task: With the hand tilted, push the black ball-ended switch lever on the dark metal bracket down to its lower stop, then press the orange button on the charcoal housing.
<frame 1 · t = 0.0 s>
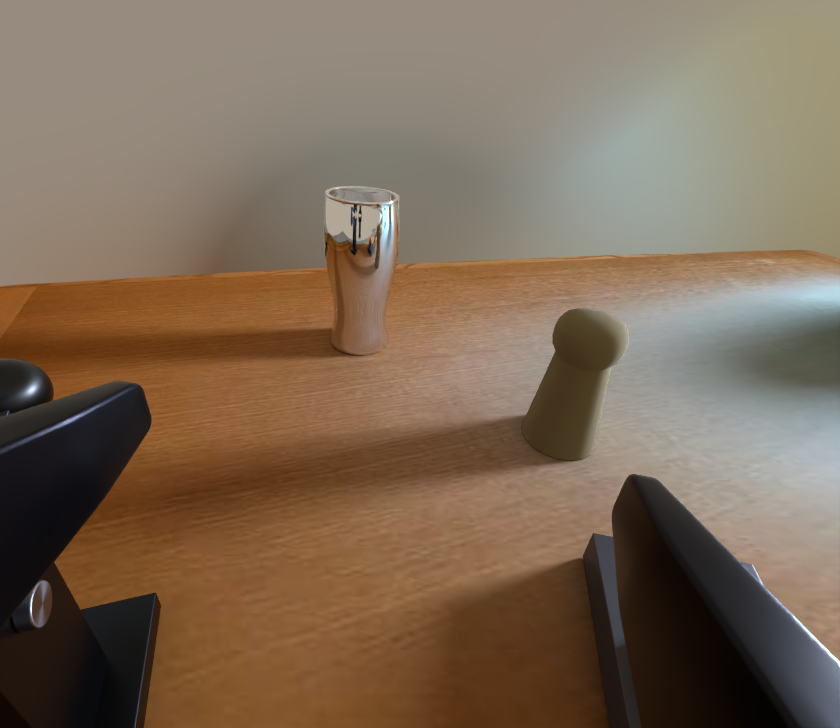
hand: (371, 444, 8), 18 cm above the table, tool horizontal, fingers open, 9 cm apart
beer glass: (359, 342, 48), on the table
olive game pawn: (557, 436, 38), on the table
button box: (687, 668, 23), on the table
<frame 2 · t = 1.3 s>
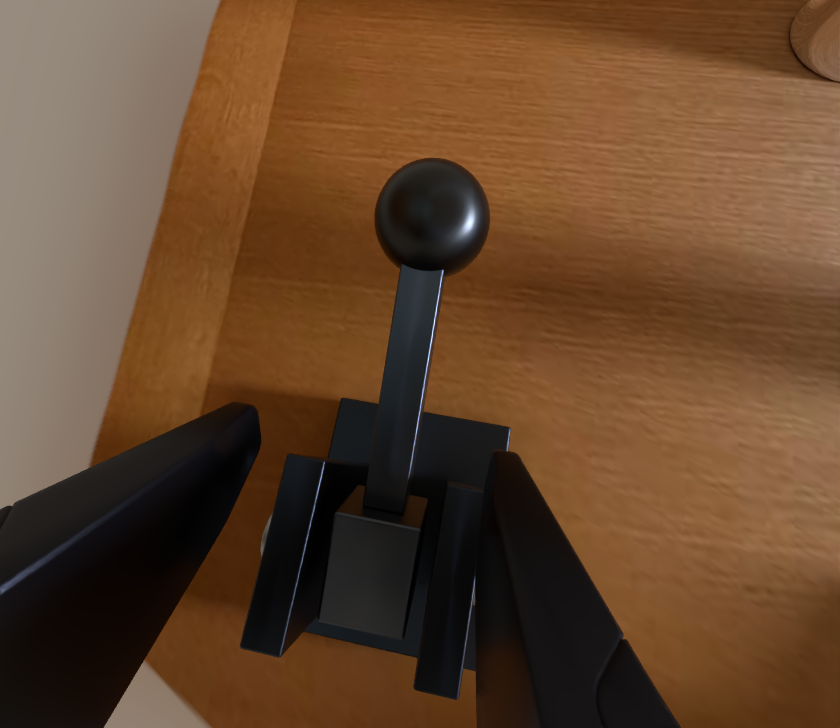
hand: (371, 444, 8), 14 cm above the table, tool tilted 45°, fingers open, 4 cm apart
switch bracket: (406, 521, 21), on the table
switch: (404, 388, 12), point 10 cm above the table, hinge at 15.0°
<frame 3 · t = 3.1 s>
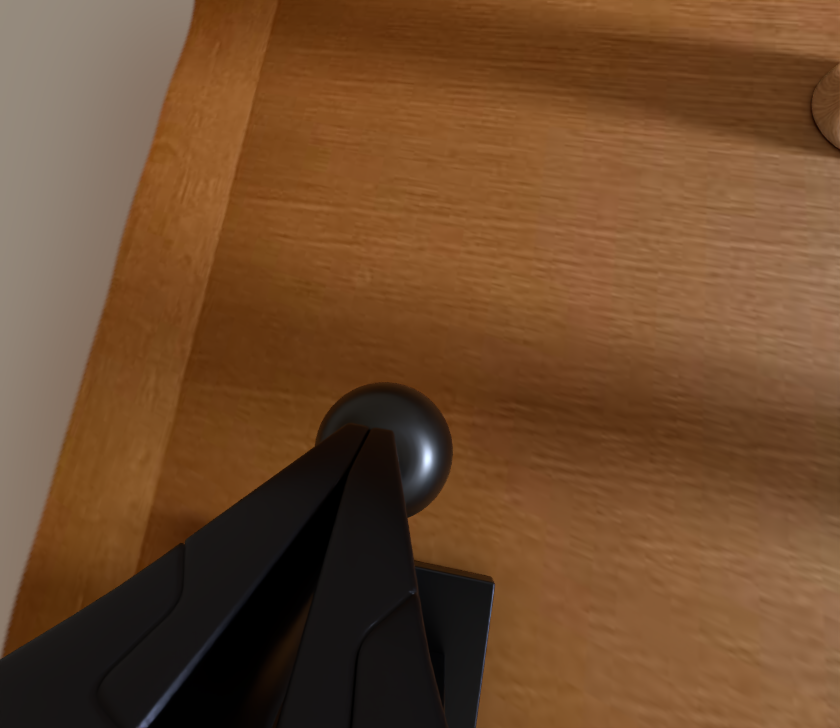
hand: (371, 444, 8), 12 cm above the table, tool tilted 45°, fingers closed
switch bracket: (373, 689, 18), on the table
switch: (346, 659, 10), point 10 cm above the table, hinge at 8.6°
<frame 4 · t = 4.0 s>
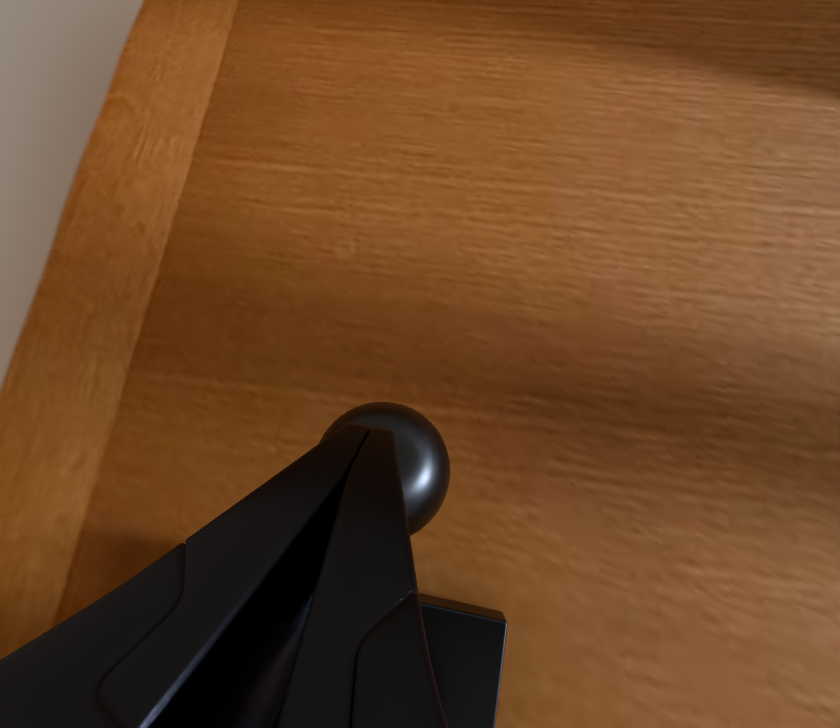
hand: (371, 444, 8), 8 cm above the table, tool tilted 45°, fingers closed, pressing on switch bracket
switch: (321, 720, 8), point 8 cm above the table, hinge at -16.2°
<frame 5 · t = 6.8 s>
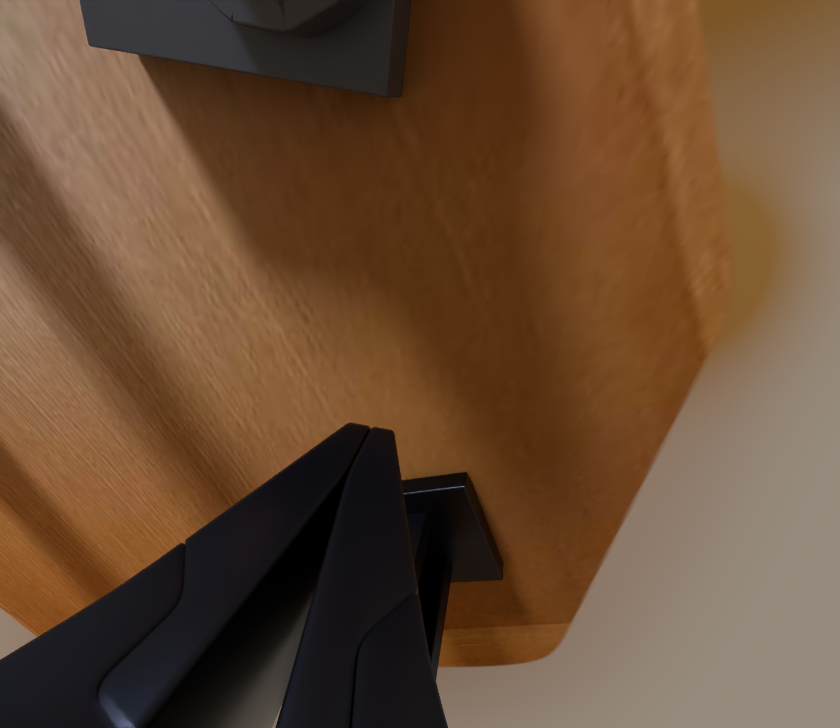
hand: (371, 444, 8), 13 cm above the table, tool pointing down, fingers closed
switch bracket: (411, 527, 29), on the table
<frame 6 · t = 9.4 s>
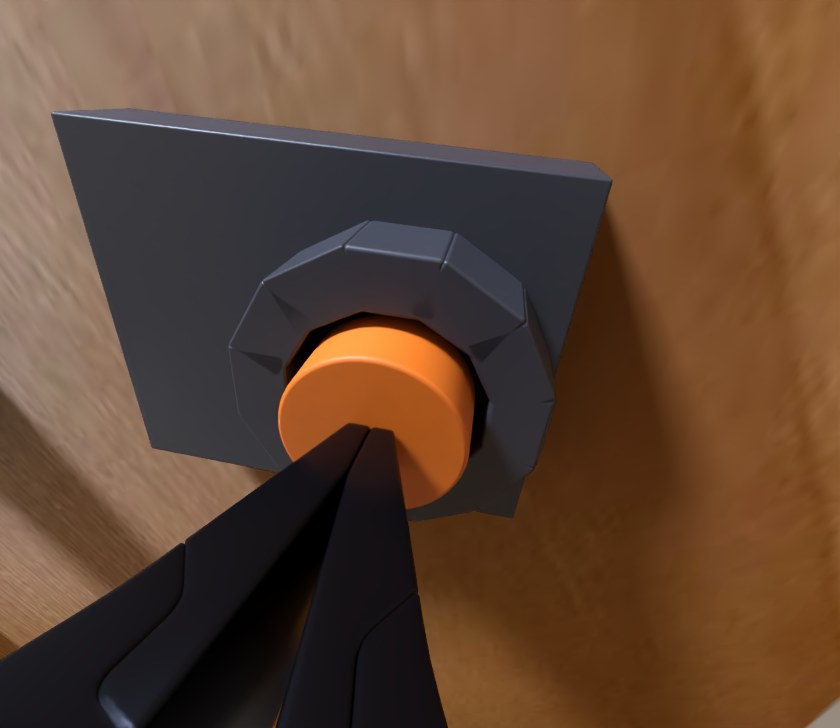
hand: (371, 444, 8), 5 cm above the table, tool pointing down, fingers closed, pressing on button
button: (381, 414, 9), point 4 cm above the table, slide at -0.2 cm, touching gripper
button box: (348, 312, 13), on the table
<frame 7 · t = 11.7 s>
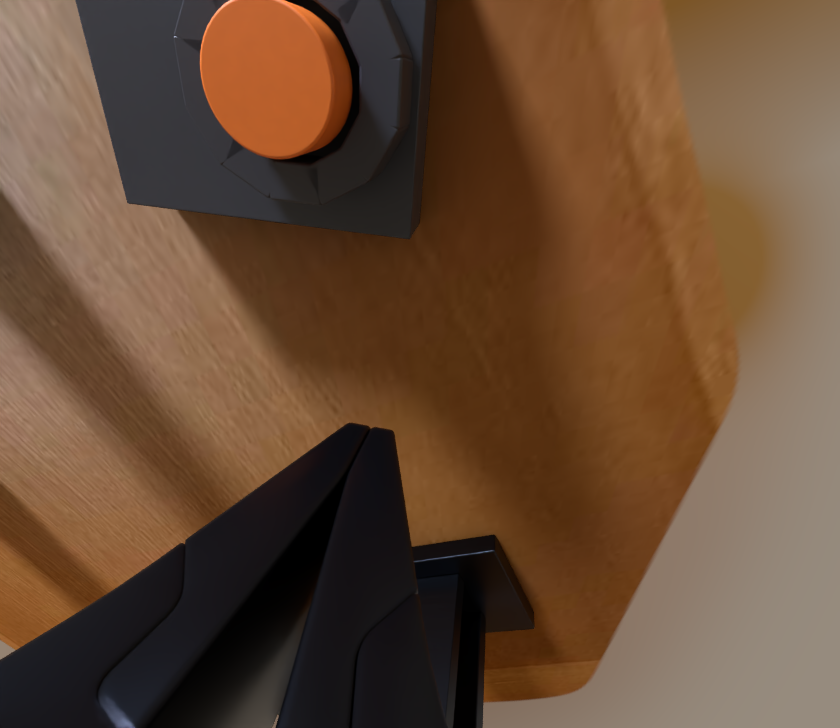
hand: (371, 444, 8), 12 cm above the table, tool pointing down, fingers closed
switch bracket: (443, 583, 30), on the table
switch: (355, 720, 25), point 8 cm above the table, hinge at -16.2°
button: (280, 83, 12), point 4 cm above the table, slide at 0.1 cm
button box: (278, 79, 16), on the table
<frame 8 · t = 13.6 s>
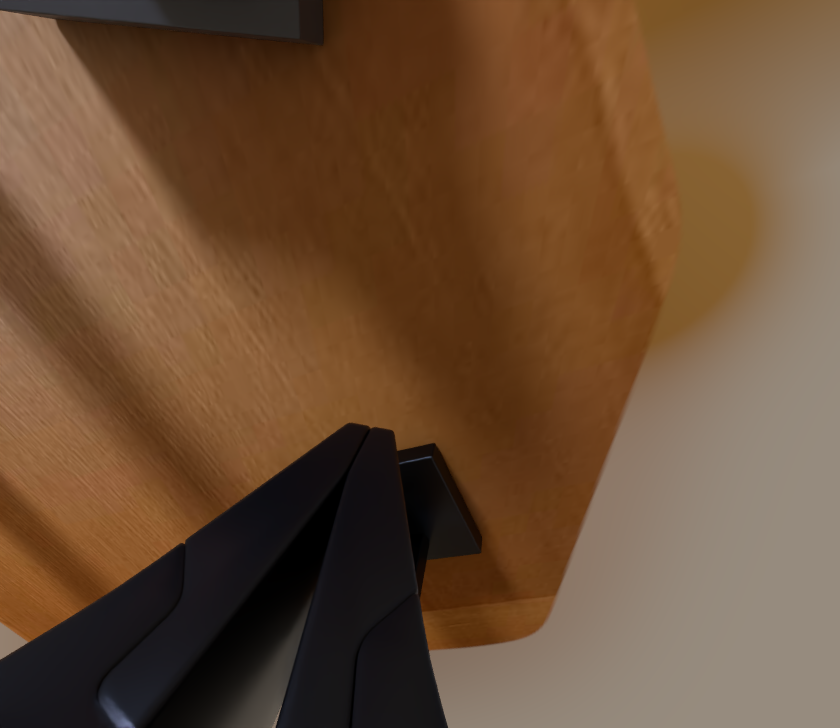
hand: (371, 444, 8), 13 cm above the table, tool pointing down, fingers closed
switch bracket: (386, 505, 28), on the table
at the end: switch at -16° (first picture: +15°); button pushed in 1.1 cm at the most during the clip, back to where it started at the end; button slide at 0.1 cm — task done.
